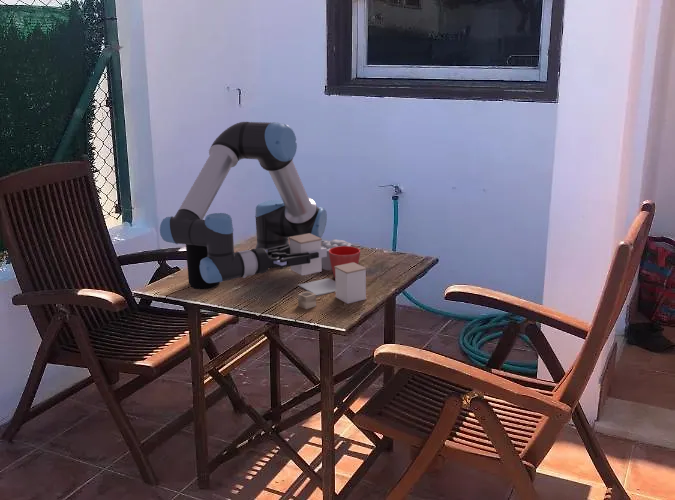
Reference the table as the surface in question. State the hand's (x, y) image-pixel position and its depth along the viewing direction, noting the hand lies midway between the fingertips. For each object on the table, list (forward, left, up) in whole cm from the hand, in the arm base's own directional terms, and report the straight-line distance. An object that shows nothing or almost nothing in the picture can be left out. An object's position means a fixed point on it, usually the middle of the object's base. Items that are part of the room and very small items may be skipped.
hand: (319, 249), depth 225 cm
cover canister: (0, -5, -6) cm, 8 cm away
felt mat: (-12, +8, -18) cm, 23 cm away
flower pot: (-17, +20, -18) cm, 32 cm away
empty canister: (+2, +10, -18) cm, 20 cm away
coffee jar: (-37, -24, -18) cm, 48 cm away
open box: (0, -5, -18) cm, 18 cm away
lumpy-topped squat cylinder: (-31, +24, -18) cm, 43 cm away
